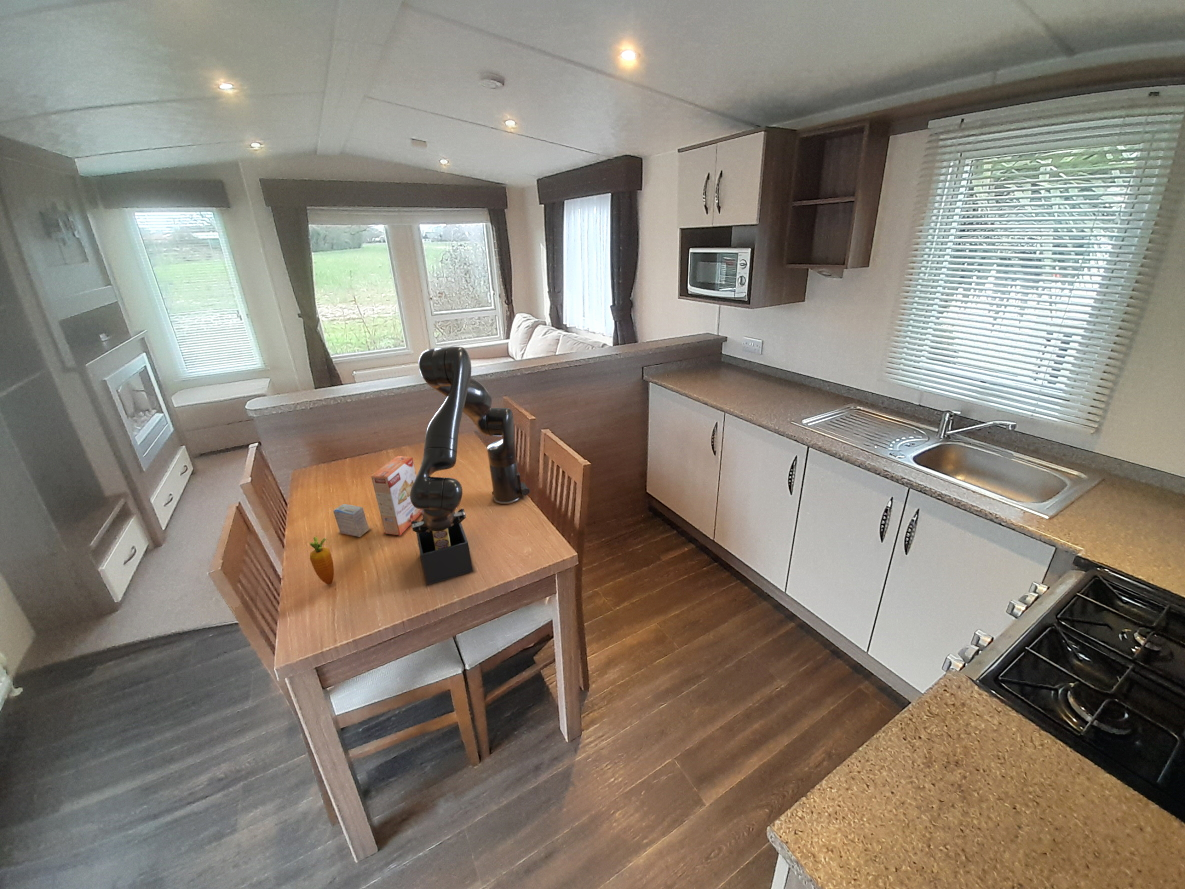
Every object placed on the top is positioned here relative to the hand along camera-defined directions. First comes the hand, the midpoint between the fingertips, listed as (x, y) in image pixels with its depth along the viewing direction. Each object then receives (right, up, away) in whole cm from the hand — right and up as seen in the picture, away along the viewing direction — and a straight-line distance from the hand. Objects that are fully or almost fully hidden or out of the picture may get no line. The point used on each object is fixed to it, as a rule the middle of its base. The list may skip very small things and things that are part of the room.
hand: (439, 527), depth 132 cm
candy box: (+1, -10, +3) cm, 11 cm away
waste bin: (+1, -11, +3) cm, 11 cm away
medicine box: (-33, -5, +19) cm, 38 cm away
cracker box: (-18, -2, +22) cm, 29 cm away
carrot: (-28, -15, -4) cm, 32 cm away
